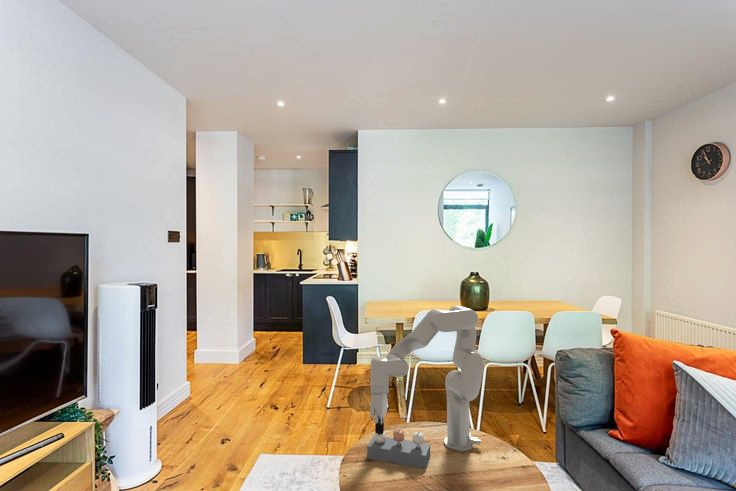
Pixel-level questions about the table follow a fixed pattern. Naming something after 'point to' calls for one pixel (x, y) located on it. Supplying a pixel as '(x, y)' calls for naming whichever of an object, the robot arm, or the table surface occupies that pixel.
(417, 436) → the knob near
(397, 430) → the knob middle
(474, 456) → the table surface
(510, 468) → the table surface
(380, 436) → the knob far
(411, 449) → the control rail
